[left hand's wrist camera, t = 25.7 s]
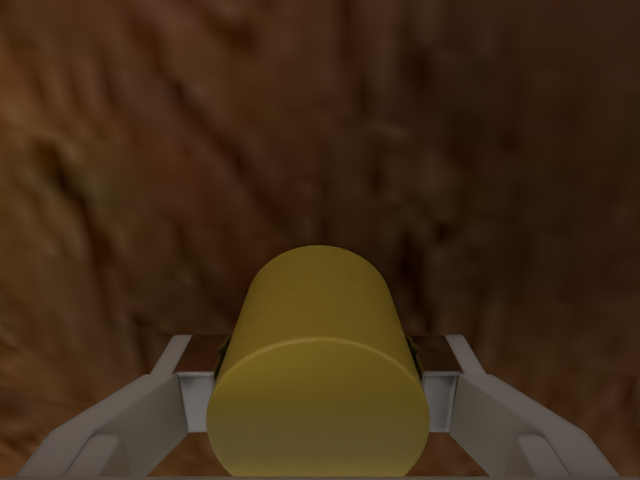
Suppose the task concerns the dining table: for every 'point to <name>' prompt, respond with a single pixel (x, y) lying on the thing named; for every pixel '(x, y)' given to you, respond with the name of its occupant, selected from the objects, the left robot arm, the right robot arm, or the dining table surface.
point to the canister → (318, 375)
